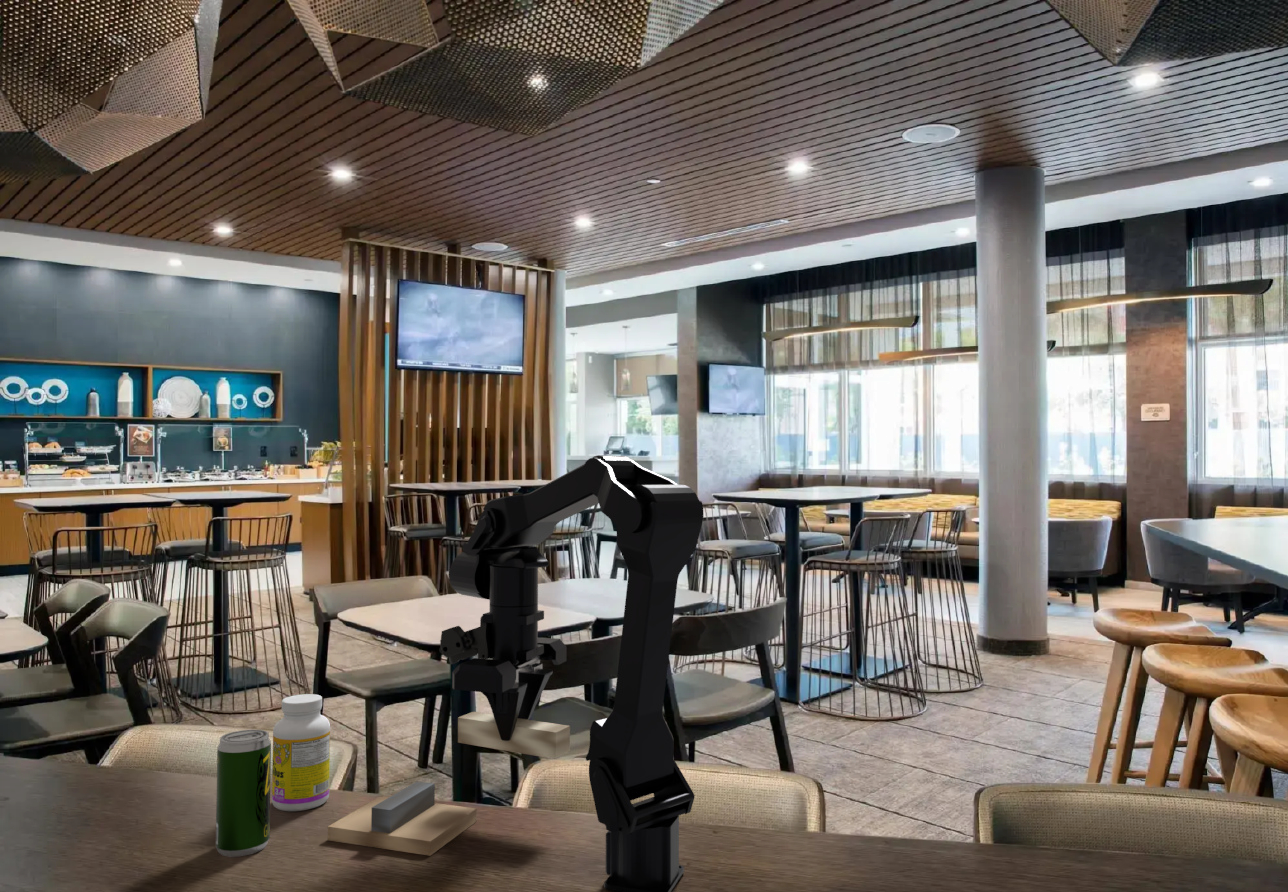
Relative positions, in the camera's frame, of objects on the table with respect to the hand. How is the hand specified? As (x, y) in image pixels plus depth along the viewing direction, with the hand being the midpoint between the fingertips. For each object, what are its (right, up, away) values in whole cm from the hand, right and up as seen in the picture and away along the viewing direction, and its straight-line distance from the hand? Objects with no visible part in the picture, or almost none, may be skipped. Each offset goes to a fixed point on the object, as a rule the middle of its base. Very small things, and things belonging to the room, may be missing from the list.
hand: (512, 735), depth 107 cm
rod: (0, -1, 0) cm, 1 cm away
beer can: (-28, -9, -9) cm, 31 cm away
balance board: (-12, -9, -4) cm, 16 cm away
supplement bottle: (-27, -10, +4) cm, 29 cm away
